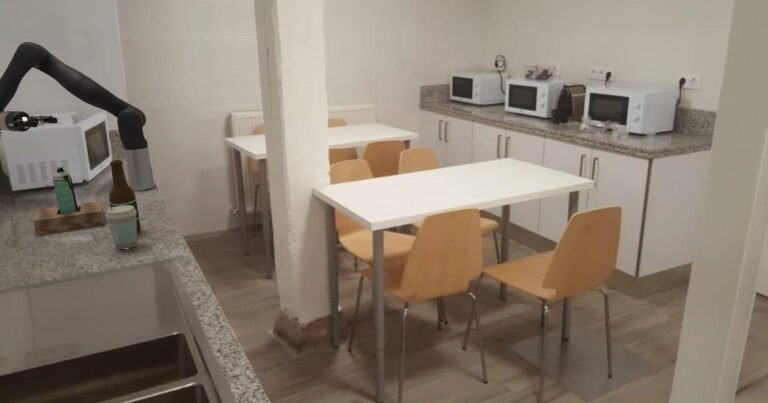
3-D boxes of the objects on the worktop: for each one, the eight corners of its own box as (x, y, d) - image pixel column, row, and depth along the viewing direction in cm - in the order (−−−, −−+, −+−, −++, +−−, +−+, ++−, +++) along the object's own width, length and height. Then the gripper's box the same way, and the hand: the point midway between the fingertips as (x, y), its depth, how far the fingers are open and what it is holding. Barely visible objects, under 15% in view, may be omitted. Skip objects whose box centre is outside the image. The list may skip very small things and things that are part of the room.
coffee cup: (117, 242, 175) (111, 205, 171) (145, 240, 175) (139, 203, 172) (107, 252, 167) (99, 214, 163) (136, 250, 167) (130, 212, 164)
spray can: (83, 221, 195) (72, 165, 189) (74, 226, 190) (62, 169, 184) (69, 221, 196) (57, 165, 190) (58, 226, 191) (46, 169, 185)
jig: (103, 213, 203) (101, 200, 201) (104, 225, 191) (101, 211, 189) (40, 223, 195) (37, 209, 193) (36, 235, 183) (33, 221, 181)
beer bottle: (146, 229, 185) (135, 158, 178) (129, 238, 178) (116, 164, 171) (127, 228, 187) (115, 157, 180) (109, 236, 180) (96, 163, 173)
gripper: (-7, 114, 202) (26, 114, 197) (28, 108, 215) (61, 109, 210) (-2, 134, 205) (31, 136, 199) (32, 128, 217) (65, 129, 212)
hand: (46, 122), depth 205 cm, fingers open, 8 cm apart
